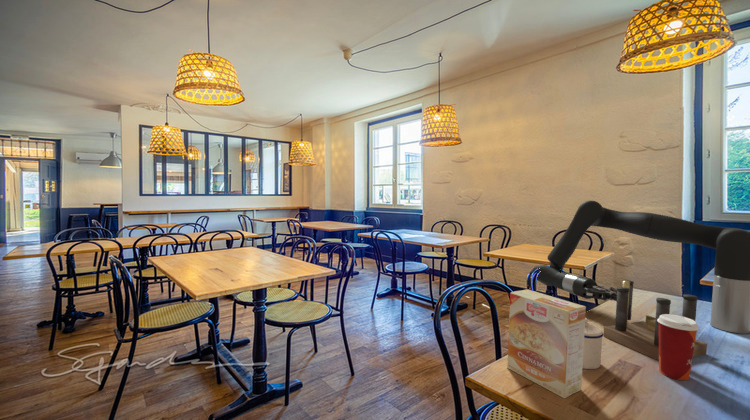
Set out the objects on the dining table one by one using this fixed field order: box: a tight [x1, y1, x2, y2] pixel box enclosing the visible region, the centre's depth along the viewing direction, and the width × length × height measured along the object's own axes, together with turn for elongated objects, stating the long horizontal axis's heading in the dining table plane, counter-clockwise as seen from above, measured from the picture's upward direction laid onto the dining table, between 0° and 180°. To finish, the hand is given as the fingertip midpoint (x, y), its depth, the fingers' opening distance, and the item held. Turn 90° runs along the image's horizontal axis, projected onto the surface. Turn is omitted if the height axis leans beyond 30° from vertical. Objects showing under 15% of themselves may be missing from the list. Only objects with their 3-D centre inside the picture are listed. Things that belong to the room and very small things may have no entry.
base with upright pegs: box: [603, 286, 708, 361], centre depth 101 cm, size 17×17×16 cm
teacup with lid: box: [582, 317, 604, 370], centre depth 91 cm, size 12×9×12 cm
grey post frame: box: [621, 279, 635, 321], centre depth 109 cm, size 10×3×14 cm, turn 140°
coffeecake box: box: [506, 288, 587, 399], centre depth 81 cm, size 15×7×20 cm, turn 31°
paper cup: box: [657, 313, 700, 382], centre depth 84 cm, size 8×8×14 cm
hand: (625, 300), depth 114 cm, fingers closed
